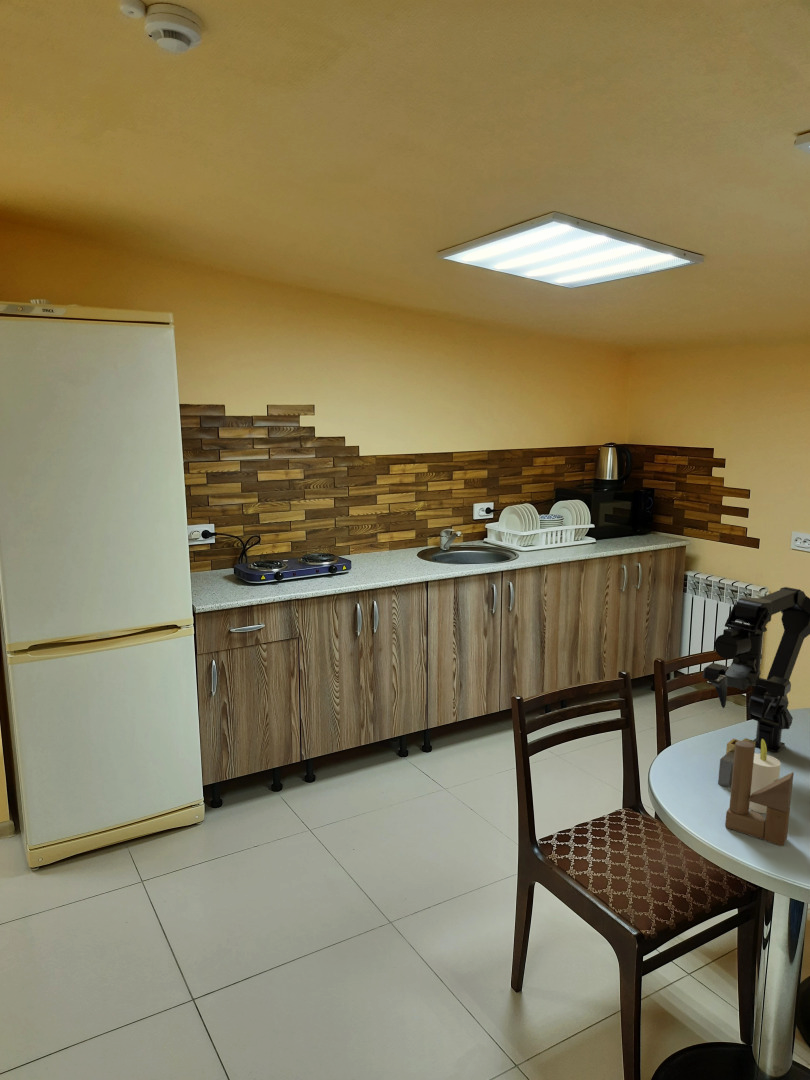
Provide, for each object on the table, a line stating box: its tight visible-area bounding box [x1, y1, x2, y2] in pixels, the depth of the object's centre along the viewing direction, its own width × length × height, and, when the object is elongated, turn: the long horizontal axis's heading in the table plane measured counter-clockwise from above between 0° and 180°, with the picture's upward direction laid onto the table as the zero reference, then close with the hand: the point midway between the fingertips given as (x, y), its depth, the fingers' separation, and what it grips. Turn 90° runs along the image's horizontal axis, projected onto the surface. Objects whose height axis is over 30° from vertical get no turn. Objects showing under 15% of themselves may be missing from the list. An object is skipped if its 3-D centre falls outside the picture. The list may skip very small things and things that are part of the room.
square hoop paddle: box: [725, 737, 756, 755], centre depth 171 cm, size 10×4×8 cm, turn 136°
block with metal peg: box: [717, 742, 736, 788], centre depth 166 cm, size 10×4×8 cm, turn 136°
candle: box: [749, 739, 782, 815], centre depth 153 cm, size 6×6×15 cm
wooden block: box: [724, 740, 794, 847], centre depth 142 cm, size 4×11×18 cm, turn 52°
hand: (742, 712), depth 175 cm, fingers open, 9 cm apart
